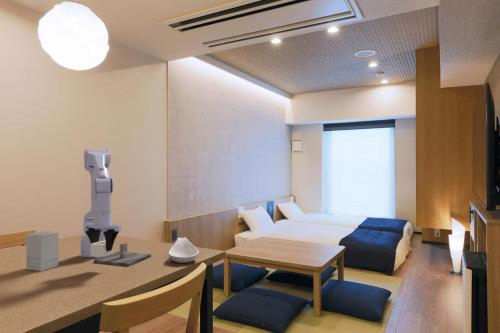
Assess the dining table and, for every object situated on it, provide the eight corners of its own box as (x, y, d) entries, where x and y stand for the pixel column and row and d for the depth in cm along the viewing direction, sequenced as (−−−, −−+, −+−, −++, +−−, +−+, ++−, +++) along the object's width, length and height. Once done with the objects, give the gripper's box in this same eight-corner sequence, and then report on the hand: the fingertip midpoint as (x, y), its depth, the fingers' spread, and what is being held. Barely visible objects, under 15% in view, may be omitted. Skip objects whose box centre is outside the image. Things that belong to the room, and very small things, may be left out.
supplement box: (59, 265, 123) (59, 231, 123) (40, 271, 116) (40, 235, 116) (44, 263, 125) (44, 230, 126) (25, 269, 118) (25, 234, 119)
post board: (94, 262, 127) (94, 245, 127) (118, 253, 141) (118, 238, 141) (129, 266, 123) (129, 248, 123) (151, 256, 136) (151, 240, 136)
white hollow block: (90, 255, 116) (90, 244, 116) (101, 251, 121) (101, 240, 121) (102, 256, 114) (103, 245, 114) (113, 252, 120) (113, 241, 120)
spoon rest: (200, 264, 126) (200, 245, 126) (169, 267, 123) (169, 247, 123) (193, 249, 149) (193, 234, 149) (166, 251, 145) (166, 235, 145)
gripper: (77, 212, 116) (77, 251, 116) (111, 214, 112) (111, 254, 112) (92, 210, 123) (92, 246, 123) (125, 211, 119) (124, 249, 119)
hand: (102, 250), depth 118 cm, fingers closed on white hollow block, 5 cm apart
